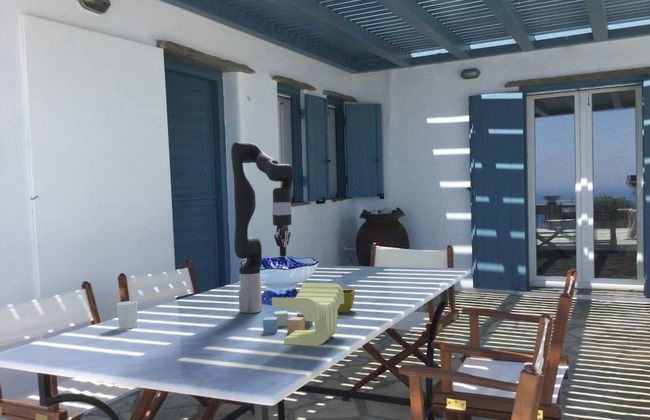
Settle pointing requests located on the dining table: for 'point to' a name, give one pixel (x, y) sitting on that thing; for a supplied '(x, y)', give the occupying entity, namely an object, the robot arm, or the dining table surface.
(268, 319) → the blue block
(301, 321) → the terracotta block
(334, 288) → the slatted curved stool
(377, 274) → the dining table surface
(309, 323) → the charcoal block
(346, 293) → the flower pot
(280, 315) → the sage block
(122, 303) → the white cup
